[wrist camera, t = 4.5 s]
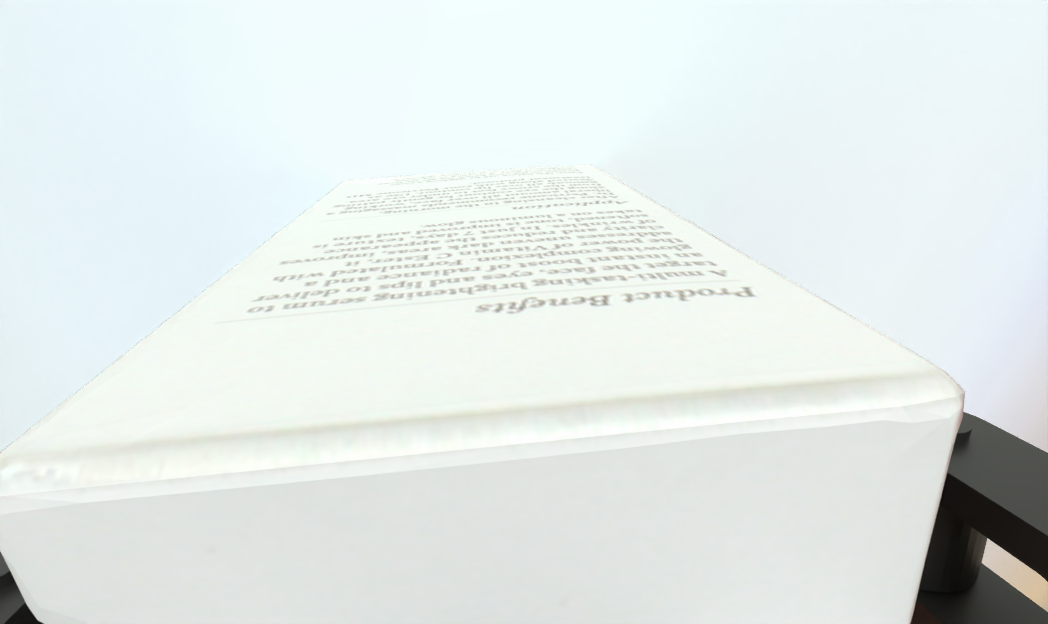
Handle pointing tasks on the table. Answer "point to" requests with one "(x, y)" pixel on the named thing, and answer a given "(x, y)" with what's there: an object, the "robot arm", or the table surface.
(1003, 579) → the robot arm
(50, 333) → the table surface
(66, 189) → the table surface
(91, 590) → the small box
